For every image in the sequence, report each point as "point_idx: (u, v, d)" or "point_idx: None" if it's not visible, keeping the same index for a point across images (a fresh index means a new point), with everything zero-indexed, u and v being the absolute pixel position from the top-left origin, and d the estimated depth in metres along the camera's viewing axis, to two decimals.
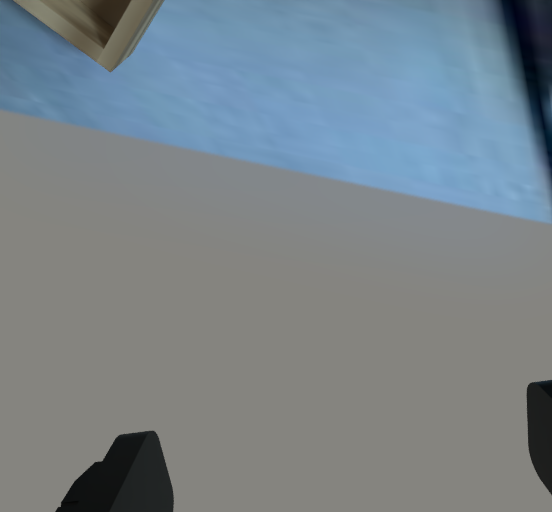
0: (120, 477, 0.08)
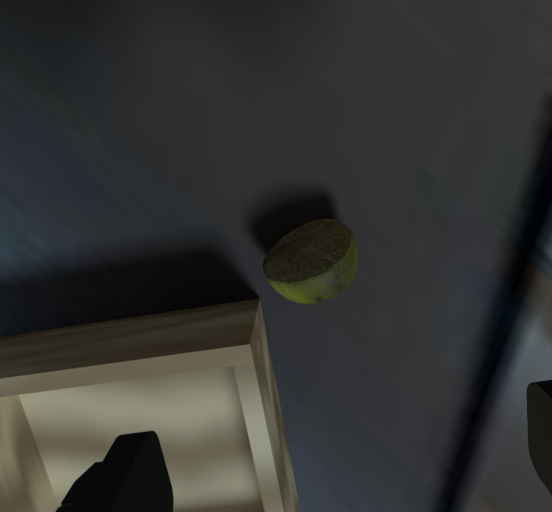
0: (120, 477, 0.08)
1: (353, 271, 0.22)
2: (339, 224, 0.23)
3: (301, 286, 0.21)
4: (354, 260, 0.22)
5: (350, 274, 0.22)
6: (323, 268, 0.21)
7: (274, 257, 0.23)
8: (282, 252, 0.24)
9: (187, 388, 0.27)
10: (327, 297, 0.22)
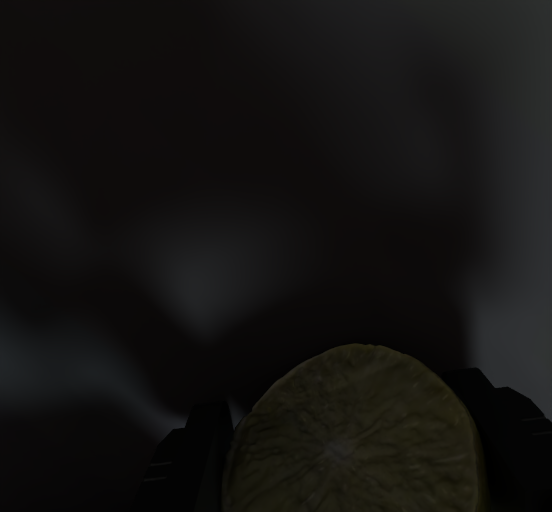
0: (206, 439, 0.09)
1: None
2: (424, 375, 0.09)
3: None
4: None
5: None
6: None
7: (248, 463, 0.09)
8: (272, 444, 0.09)
9: None
10: None
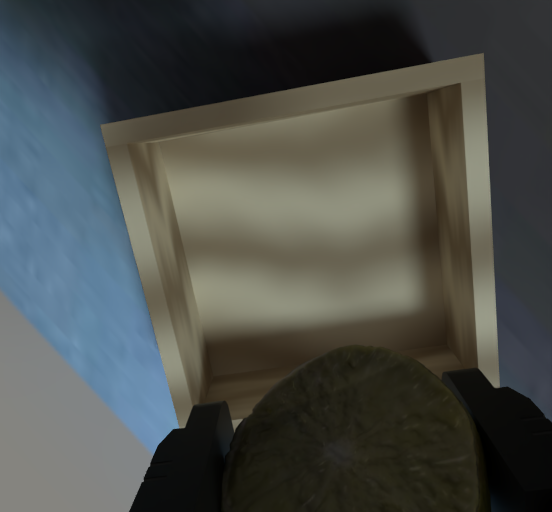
0: (207, 439, 0.09)
1: None
2: (425, 377, 0.09)
3: None
4: None
5: None
6: None
7: (249, 464, 0.09)
8: (272, 445, 0.09)
9: (355, 176, 0.25)
10: None
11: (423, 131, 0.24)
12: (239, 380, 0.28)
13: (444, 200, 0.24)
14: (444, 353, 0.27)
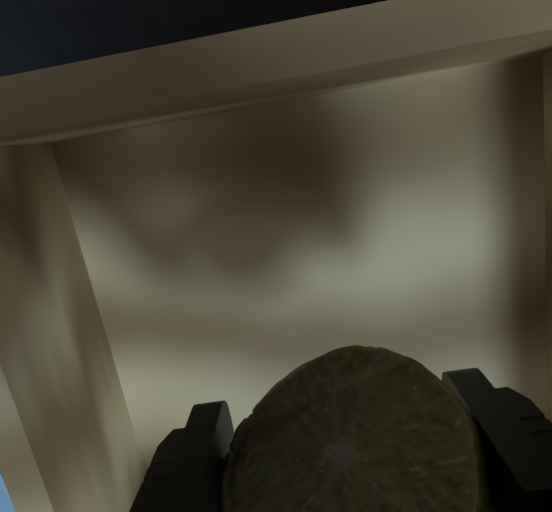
0: (206, 439, 0.09)
1: None
2: (425, 377, 0.09)
3: None
4: None
5: None
6: None
7: (248, 464, 0.09)
8: (272, 445, 0.09)
9: (404, 206, 0.14)
10: None
11: (531, 125, 0.13)
12: None
13: None
14: None
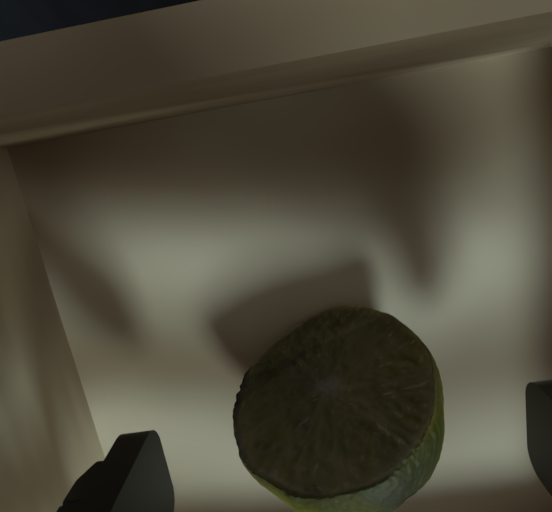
0: (121, 476, 0.08)
1: (439, 453, 0.09)
2: (397, 327, 0.11)
3: (321, 510, 0.08)
4: (443, 429, 0.09)
5: (435, 465, 0.09)
6: (375, 467, 0.08)
7: (256, 398, 0.11)
8: (275, 384, 0.11)
9: (425, 220, 0.12)
10: None
11: None
12: None
13: None
14: None
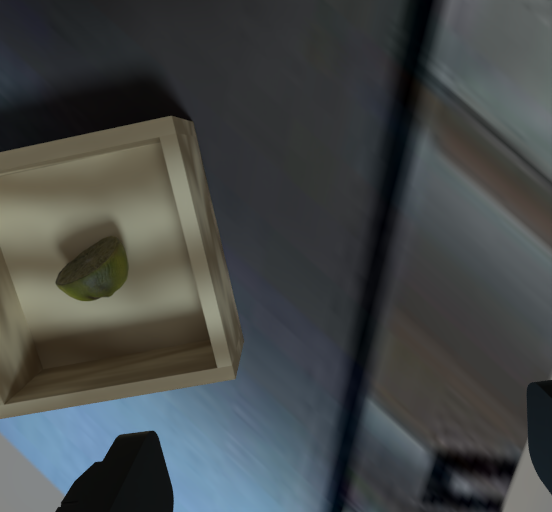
0: (120, 477, 0.08)
1: (116, 275, 0.29)
2: (115, 240, 0.30)
3: (70, 287, 0.28)
4: (115, 267, 0.29)
5: (111, 277, 0.29)
6: (85, 274, 0.28)
7: (66, 267, 0.31)
8: (74, 263, 0.31)
9: (134, 204, 0.32)
10: (95, 295, 0.29)
11: None
12: (58, 371, 0.34)
13: None
14: None
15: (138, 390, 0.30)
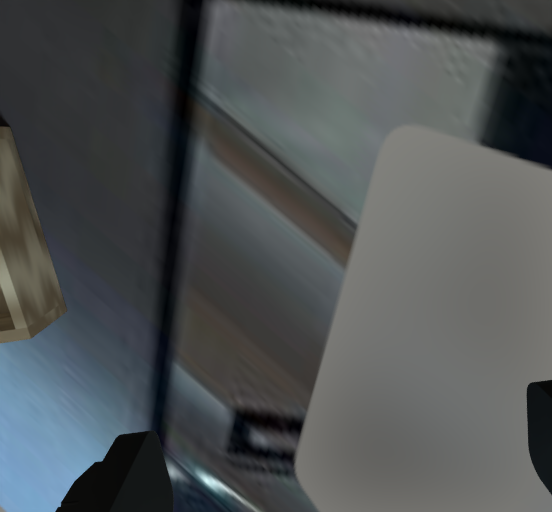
0: (120, 477, 0.08)
1: None
2: None
3: None
4: None
5: None
6: None
7: None
8: None
9: None
10: None
11: None
12: None
13: None
14: None
15: None
